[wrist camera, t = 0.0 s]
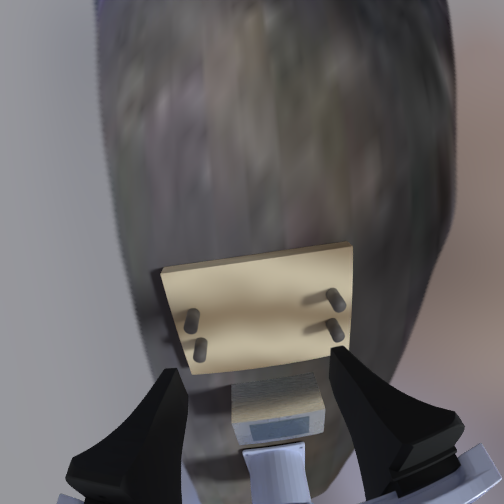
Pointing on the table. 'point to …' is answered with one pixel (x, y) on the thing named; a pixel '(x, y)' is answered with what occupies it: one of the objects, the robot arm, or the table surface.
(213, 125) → the table surface
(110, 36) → the table surface
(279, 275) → the tan flat board
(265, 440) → the block
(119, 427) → the robot arm
